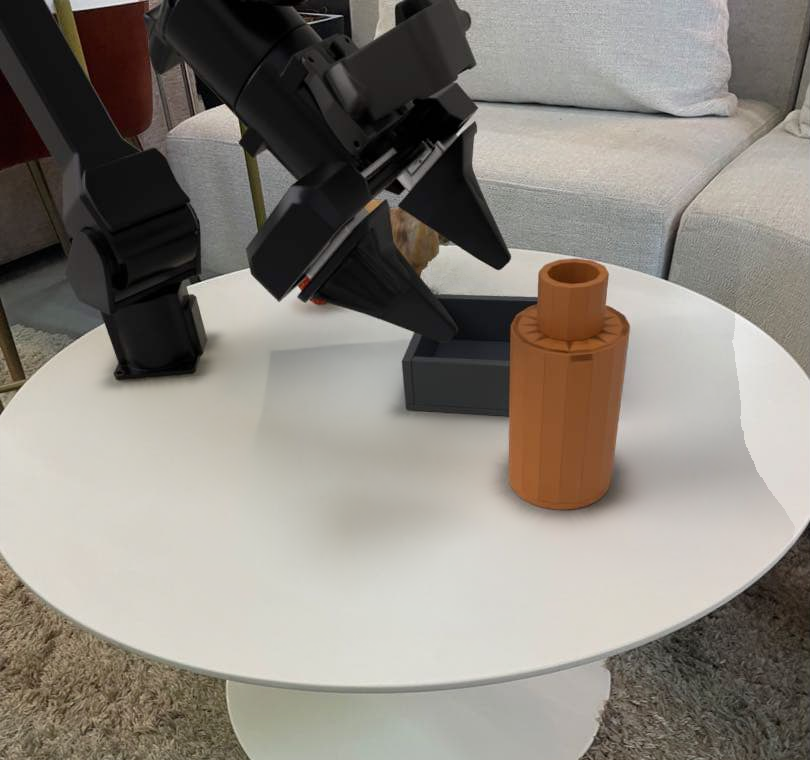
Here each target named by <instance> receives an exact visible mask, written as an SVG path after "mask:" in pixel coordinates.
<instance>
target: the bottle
mask: <svg viewBox="0 0 810 760" xmlns="http://www.w3.org/2000/svg"><path fill="white" fill-rule="evenodd" d="M609 275H610V273H609V271H608V269H607V268H606V266H605V265H603V264H601V263H599V262H597V261H594V260H591V259H584V258H577V257H576V258H562V259H557V260H555V261H551V262H548V263H546V264H544V265H543V266H542V267H541V269H540V270H539V271H538V276H537V277H538V278H537V297H538V299H537V305H533V306H530V307H528V308H526V309H525V310H523V311H522V312H520V313H519V314H517V315H516V317H515V318H514V320H513V322H512V324H511V336H510V398H509V416H508V462H507V465H508V467H507V470H508V480H509V481H508V482H509V484H510V486H511V489H512V490H513V492H515V494H516V495H517V496H518V497H519V498H521V499H523V500H524V502H528V503H529V504H532V505H534V506H536V507H540V508H543V509H549V510H558V511H559V510H562V511H564V510H565V511H566V510H575V509H579V508H584V507H587V506H590V505H592V504H594V503H595V502H597V501H599V500H600V499H601V498H603V497H604V496H605V494H606V493H607V492H608V490H609V488H610V486H611V481H612V475H613V469H614V462H615V461H614V460H615V455H616V445H617V437H618V429H619V421H620V415H621V414H620V413H621V407H622V405H621V404H622V397H623V388H624V381H625V373H626V364H627V356H628V349H629V341H630V340H629V339H630V331H631V325H630V323H629V321H628V319H627V318H626V315H625V314H623V313H622V312H620V311H619V310H617V309H616V308H614V307H613V306H610V305H607V298H608V297H607V296H608V287H609V286H608V285H609V277H610V276H609Z"/></svg>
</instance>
